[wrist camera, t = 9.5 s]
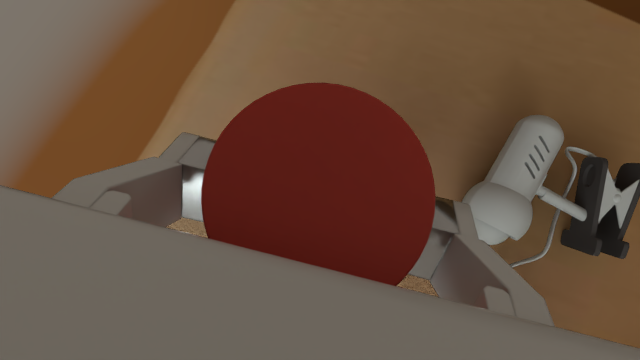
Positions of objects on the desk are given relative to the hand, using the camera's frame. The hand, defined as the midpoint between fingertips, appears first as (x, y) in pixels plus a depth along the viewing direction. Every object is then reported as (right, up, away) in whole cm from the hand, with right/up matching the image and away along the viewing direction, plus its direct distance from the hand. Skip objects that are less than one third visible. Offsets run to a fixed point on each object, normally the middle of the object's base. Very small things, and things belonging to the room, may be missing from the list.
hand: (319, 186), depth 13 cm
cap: (0, -1, +2) cm, 3 cm away
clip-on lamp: (+16, -5, +23) cm, 28 cm away
